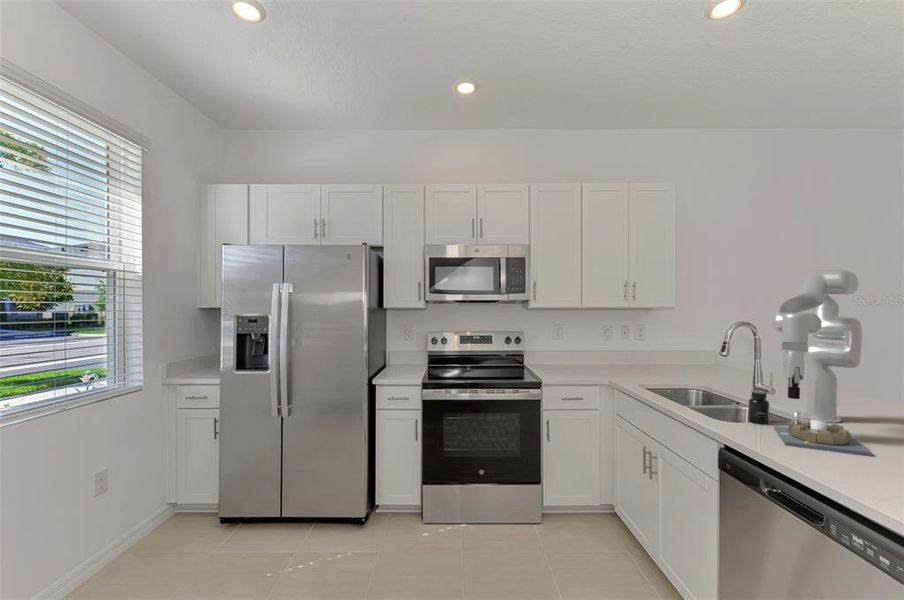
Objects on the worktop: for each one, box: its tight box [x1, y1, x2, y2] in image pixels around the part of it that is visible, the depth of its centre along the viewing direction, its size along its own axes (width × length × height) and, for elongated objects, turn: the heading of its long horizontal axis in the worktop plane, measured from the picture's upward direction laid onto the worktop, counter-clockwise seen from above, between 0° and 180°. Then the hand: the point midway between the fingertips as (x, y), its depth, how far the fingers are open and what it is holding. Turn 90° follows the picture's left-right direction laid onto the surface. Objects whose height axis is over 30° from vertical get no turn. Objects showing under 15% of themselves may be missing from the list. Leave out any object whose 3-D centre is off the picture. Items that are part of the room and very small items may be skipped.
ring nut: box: [788, 410, 851, 445], centre depth 156 cm, size 16×16×8 cm
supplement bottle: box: [747, 391, 770, 426], centre depth 180 cm, size 7×7×12 cm
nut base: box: [773, 419, 873, 457], centre depth 156 cm, size 22×22×7 cm
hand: (793, 398), depth 163 cm, fingers closed
